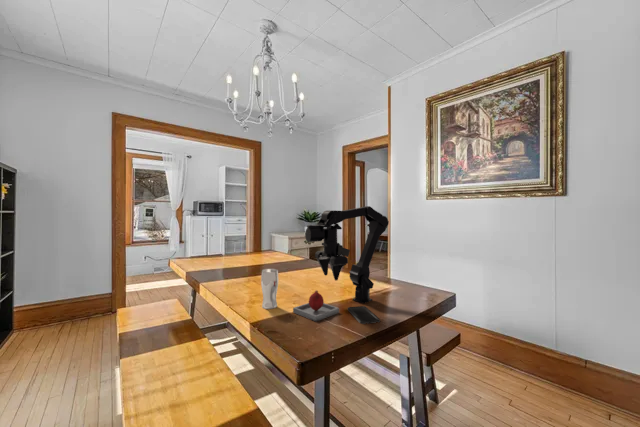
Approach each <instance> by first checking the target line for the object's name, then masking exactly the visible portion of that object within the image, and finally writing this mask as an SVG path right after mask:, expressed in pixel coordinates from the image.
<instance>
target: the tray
mask: <svg viewBox="0 0 640 427" xmlns="http://www.w3.org/2000/svg"><path fill="white" fill-rule="evenodd" d="M292 313H293V314H296V315H298V316H301V317H304V318H306V319H309V320H310V321H313V322H319V321H321V320H324V319H326V318H329V317H331V316H335V315H337V314H340V308H339V307H338V306H334V305H332V304H328V303H325V302H324V303H323V306H322V307H321V308H320V309H319V310H318V311H315V310H313V309H312V308H311V307H310V305H309V302H308V303H304V304H301V305H298V306H295V307H293V308H292Z"/></svg>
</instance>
